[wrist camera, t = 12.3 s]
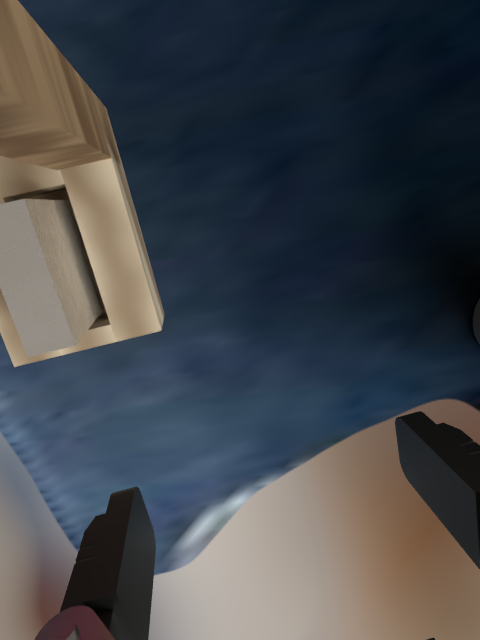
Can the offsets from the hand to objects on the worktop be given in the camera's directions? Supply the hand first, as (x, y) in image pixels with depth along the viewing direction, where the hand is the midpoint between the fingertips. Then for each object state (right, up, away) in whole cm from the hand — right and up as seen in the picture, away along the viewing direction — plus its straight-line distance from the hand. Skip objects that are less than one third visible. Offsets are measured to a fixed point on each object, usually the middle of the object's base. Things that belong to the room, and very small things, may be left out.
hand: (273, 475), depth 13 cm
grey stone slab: (-15, +10, +24) cm, 30 cm away
